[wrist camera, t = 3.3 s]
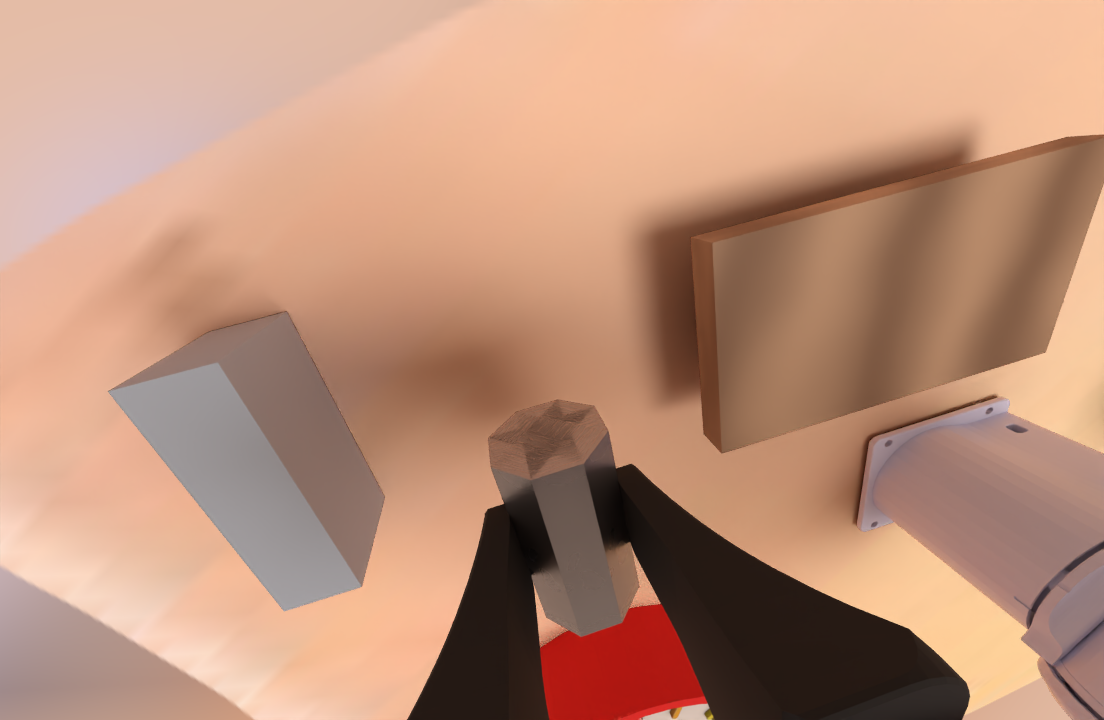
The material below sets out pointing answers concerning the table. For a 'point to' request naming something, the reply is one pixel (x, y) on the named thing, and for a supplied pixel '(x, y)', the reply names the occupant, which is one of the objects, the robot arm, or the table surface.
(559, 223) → the table surface
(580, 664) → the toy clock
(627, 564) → the roller
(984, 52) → the table surface
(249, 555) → the block
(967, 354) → the slab
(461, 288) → the table surface
